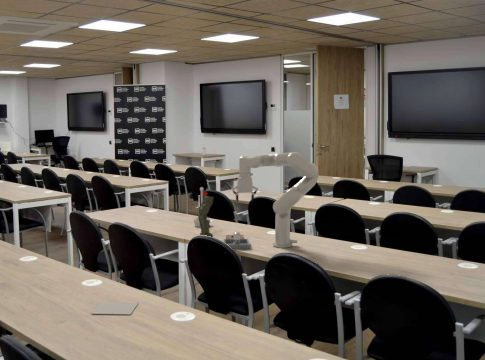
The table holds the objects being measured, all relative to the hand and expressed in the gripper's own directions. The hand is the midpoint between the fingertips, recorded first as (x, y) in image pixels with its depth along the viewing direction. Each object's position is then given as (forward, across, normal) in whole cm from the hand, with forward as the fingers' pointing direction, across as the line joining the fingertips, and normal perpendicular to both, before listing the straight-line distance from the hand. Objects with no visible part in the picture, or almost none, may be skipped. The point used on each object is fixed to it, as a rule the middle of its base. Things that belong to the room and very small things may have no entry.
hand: (244, 201), depth 343 cm
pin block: (+28, +6, -9) cm, 30 cm away
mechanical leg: (+28, +26, -20) cm, 43 cm away
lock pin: (+28, +6, +8) cm, 29 cm away
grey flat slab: (+29, +69, +121) cm, 142 cm away
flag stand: (+29, +29, -60) cm, 73 cm away
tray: (+28, +6, +8) cm, 30 cm away
